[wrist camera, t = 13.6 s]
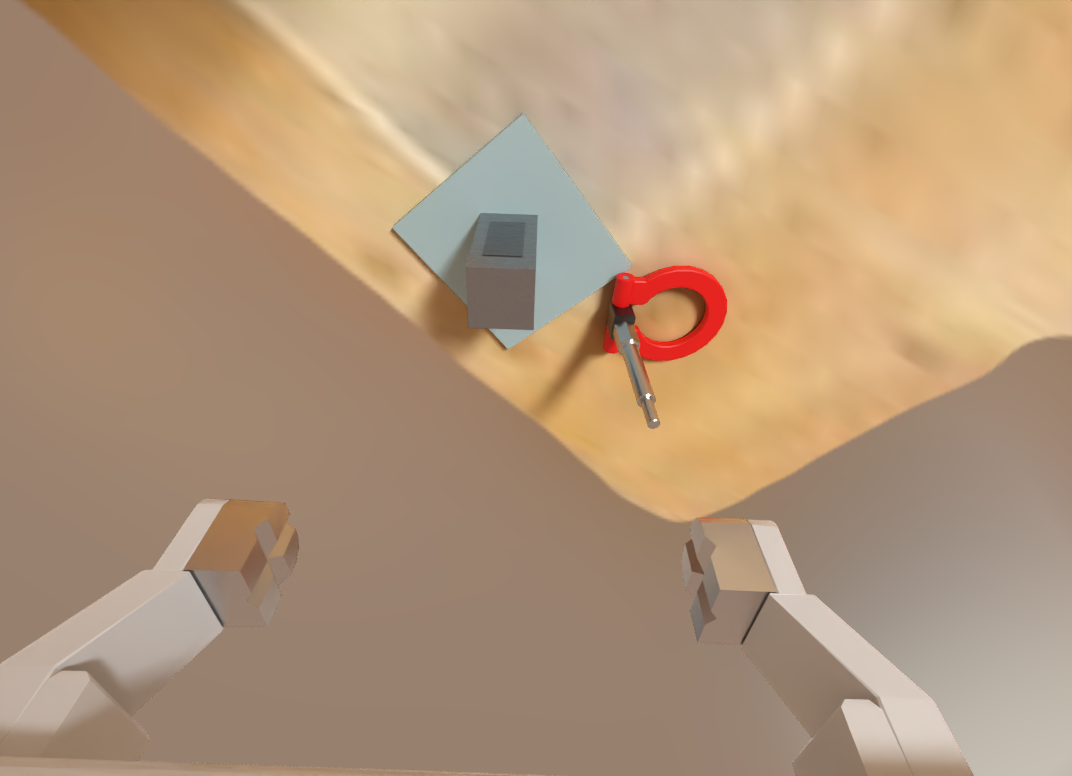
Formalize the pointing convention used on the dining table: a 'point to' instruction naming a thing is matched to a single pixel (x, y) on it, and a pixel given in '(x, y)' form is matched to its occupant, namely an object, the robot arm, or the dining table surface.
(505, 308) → the link block
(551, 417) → the dining table surface
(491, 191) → the pad
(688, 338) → the tow hook
